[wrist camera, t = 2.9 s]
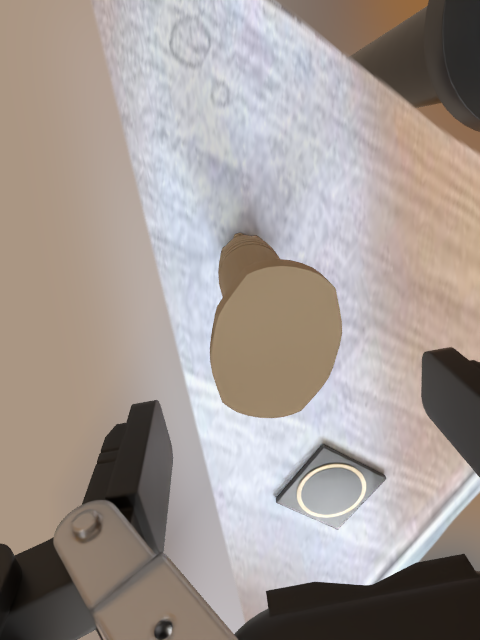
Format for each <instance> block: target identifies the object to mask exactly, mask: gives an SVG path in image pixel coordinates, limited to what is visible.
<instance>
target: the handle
mask: <svg viewBox="0 0 480 640" xmlns="http://www.w3.org/2000/svg"><path fill="white" fill-rule="evenodd" d="M218 273H219V285H220V289H221V293H222V296H223V298H222V300H221V301H220V303H219V305H218V306H217V309H216V313H215V318H214V323H213V328H212V335H211V342H210V362H211V368H212V373H213V377H214V380H215V383H216V386H217V389H218V391H219V394H220V397H221V400H222V402H223V403H224V404H225V405H227V406H228V407H229V408H231V409H233V410H235V411H236V412H239V413H242V414H245V415H248V416H253V417H259V418H277V417H285V416H288V415H292V414H294V413H297V412H299V411H301V410H302V409H303V408H304V407H305V406H306V405H307V404H308V403H309V401H310V400H311V399H312V398H313V397H314V396H315V395H316V394H317V392H318V391H319V390H320V389H321V388H322V386H323V385H324V384H325V382H326V381H327V379H328V378H329V375H330V373H331V371H332V368H333V365H334V362H335V359H336V355H337V352H338V349H339V346H340V341H341V336H342V321H341V315H340V309H339V304H338V299H337V294H336V289H335V287H334V286H333V285H332V284H331V283H330V282H329V281H328V280H327V279H326V278H325V277H324V276H323V275H322V274H321V273H319V272H318V271H316V270H315V269H314V268H312V267H310V266H307V265H305V264H303V263H299V262H295V261H291V260H281V259H280V258H279V257H278V255H277V254H276V252H275V251H274V250H273V248H272V247H270V246H269V245H268V244H267V243H266V242H265V241H263V240H262V239H261V238H260V237H258V236H256V235H254V236H249V235H243V234H242V233H237V234H235V235H234V238H233V239H232V240H231V241H230V242H229V243H228V244H227V245H226V246H225V247H223V249H222V251H221V255H220V261H219V271H218Z"/></svg>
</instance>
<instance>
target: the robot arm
mask: <svg viewBox="0 0 480 640" xmlns="http://www.w3.org/2000/svg"><path fill="white" fill-rule="evenodd" d="M421 397H422V403H423V406H424V409H425V411H426V413H427V415H428V416H429V418H430V419H431V420H432V421H433V422H434V424H435V425H436V426H437V427H438V428H439V429H440V431H441V432H442V433H443V434H444V435H445V437H446V438H447V439H448V440H449V441H450V443H451V444H452V445H453V446H454V447H455V448H456V450H457V451H458V452H459V453H460V454H461V456H462V457H463V458H464V459H465V460H466V462H467V463H468V464H469V465H470V466H471V467H472V469H473V470H474V471H475V472H476V473H477V475H478V476H479V477H480V362H477V361H475V360H471V361H469V360H468V359H467V358H465V357H464V356H463V355H462V354H460V353H459V352H458V351H456V350H455V349H454V348H452V347H449V348H443V349H438V350H432V351H427V352H425V353H424V354H423V357H422V389H421ZM172 465H173V453H172V445H171V441H170V437H169V434H168V430H167V427H166V423H165V420H164V416H163V413H162V409H161V406H160V403H159V401H158V400H154V401H149V402H143V403H138V404H133V405H132V406H131V409H130V412H129V416H128V419H127V423H122V424H117V425H116V426H115V427H114V428H113V429H112V430H111V431H110V433H109V434H108V435H107V436H106V437H105V440H104V443H103V446H102V449H101V453H100V454H99V457H98V460H97V465H96V466H95V469H94V472H93V475H92V478H91V480H90V483H89V486H88V489H87V492H86V495H85V497H84V500H83V503H82V505H81V506H79V507H77V508H76V509H74V510H73V511H72V512H70V513H69V514H68V515H67V516H66V517H65V518H64V519H63V520H62V521H61V522H60V524H59V525H58V527H57V529H56V531H55V534H54V537H53V538H52V539H50V540H48V541H46V542H44V543H42V544H39V545H37V546H35V547H33V548H30V549H28V550H26V551H24V552H22V553H19V554H17V555H15V556H14V554H13V552H12V551H11V549H10V548H9V547H8V546H7V545H5V544H0V640H77V639H79V638H81V637H83V636H85V635H87V634H89V633H90V632H92V631H94V630H96V632H97V634H98V636H99V638H100V640H480V571H475V570H474V568H473V567H472V565H471V563H470V562H469V561H468V559H467V557H466V556H465V554H461V555H455V556H450V557H445V558H439V559H434V560H429V561H423V562H418V563H415V564H413V565H411V566H409V567H407V568H405V569H403V570H401V571H399V572H397V573H395V574H393V575H391V576H389V577H387V578H385V579H383V580H381V581H379V582H377V583H375V584H373V585H366V586H364V585H351V584H337V583H324V582H311V583H306V584H301V585H295V586H290V587H285V588H279V589H274V590H269V591H266V594H267V601H268V609H267V610H265V611H263V612H261V613H259V614H258V615H256V616H255V617H253V618H252V619H250V620H249V621H248V622H247V623H245V624H244V625H243V626H242V627H241V628H240V629H239V630H238V631H237V632H236V633H235V634H233V633H232V632H231V630H230V629H229V628H228V627H227V626H226V624H225V623H224V622H223V621H222V620H221V619H220V617H219V616H218V615H217V614H216V613H215V612H214V611H213V609H212V608H211V607H210V606H209V604H207V602H206V601H205V600H204V599H203V598H202V597H201V595H200V594H199V593H198V592H197V590H196V589H195V588H194V587H193V586H192V585H191V584H190V582H189V581H188V580H187V579H186V577H185V576H184V575H183V574H182V573H181V572H180V570H179V569H178V568H177V567H176V566H175V565H174V563H173V562H172V561H171V560H170V559H169V558H168V557H167V556H166V555H165V554H164V553H163V551H164V542H165V532H166V523H167V513H168V503H169V493H170V484H171V475H172Z"/></svg>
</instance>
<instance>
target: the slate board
mask: <svg viewBox="0 0 480 640" xmlns="http://www.w3.org/2000/svg"><path fill="white" fill-rule="evenodd" d="M385 480H386V477H385V475H383V474H381V473H379V472H377V471H376V470H374V469H372V468H370V467H368V466H366V465H364V464H362V463H360V462H358V461H356V460H354V459H352V458H350V457H348V456H346V455H344V454H342V453H340V452H338V451H336V450H334V449H332V448H330V447H328V446H326V445H324V444H322V445H321V447H320V448H319V449H318V450H317V451H316V452H315V454H314V455H313V456H312V457H311V458H310V459H309V461H308V462H307V463H306V464H305V465H304V466H303V468H302V469H301V470H300V471H299V472H298V473H297V475H296V476H295V477H294V478H293V479H292V480H291V482H290V483H289V484H288V485H287V486H286V487H285V489H284V490H283V491H282V492H281V493H280V494H279V496H278V497H277V498H276V503H278V504H280V505H283V506H285V507H287V508H290V509H292V510H294V511H296V512H299V513H301V514H303V515H306V516H308V517H310V518H312V519H315V520H317V521H319V522H322V523H324V524H326V525H328V526H331V527H333V528H335V529H339V528H340V527H341V526H342V525H343V524H344V523H345V521H346V520H347V519H348V518H349V517H350V516H351V515H352V514H353V513H354V512H355V511H356V510H357V509H358V508H359V507H360V506H361V505H362V504H363V503H364V502H365V501H366V500H367V498H368V497H369V496H370V495H371V494H372V493H373V492H374V491H375V490H376V489H377V488H378V487H379V486H380V485H381V484H382V483H383V482H384V481H385Z"/></svg>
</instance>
